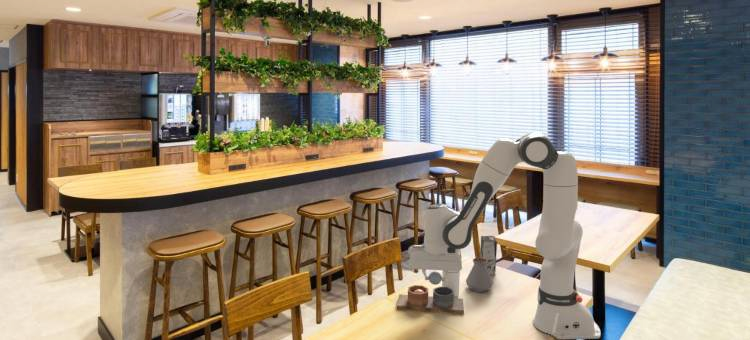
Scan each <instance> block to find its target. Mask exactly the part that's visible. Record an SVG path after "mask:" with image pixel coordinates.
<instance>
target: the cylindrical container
mask: <svg viewBox="0 0 750 340" xmlns="http://www.w3.org/2000/svg"><path fill="white" fill-rule="evenodd" d="M459 252H460V253H461V249H459ZM441 271H442V274H441V276H442V275H444V274H445V270H441ZM460 271H461V270H460ZM460 271H448V274H447V276H446V277H445V281H442V280H441V287H448V288H450V289H452V290H454V298H458V297H459V295H460V275H461V274H460V273H461V272H460Z"/></svg>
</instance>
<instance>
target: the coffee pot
mask: <svg viewBox="0 0 750 340" xmlns="http://www.w3.org/2000/svg"><path fill="white" fill-rule="evenodd" d="M511 256H512V257H515V254H514V253H513V252H512V253H509V254H507V255H505V256H501V257H500V258H498V259H496V261H495V262H492V263H490V264H488V265H486V264H487V263H488V260H487V259H484V258H480V257H475V258H473V259H472V262H473V266H472V268H471V270H470V271H469V273H468V276H467V278H466V279H465V283H466V285H467V287H468V288H469V289H470V290H471V291H474V292H476V293H484V292H488V291H489V290H490V289H491V288H492V287H493V285H494V282H493V278H492V277H491V275H490V274H489V271H488V269H487V267H489V266H491V265H493V264H495V263H496V264H497V263H499V262H501V261H504V260H505V259H507V258H510V257H511Z"/></svg>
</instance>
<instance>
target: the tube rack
mask: <svg viewBox="0 0 750 340" xmlns="http://www.w3.org/2000/svg"><path fill="white" fill-rule="evenodd" d="M417 289H421V290H423V291H424V293H413V292H414V291H415V290H417ZM396 310H402V311H403V310H407V311H418V312H431V313H444V314H445V313H446V314H447V313H448V314H457V315H458V314H459V315H460V314H461V315H464V314H465V307H464V298H458V297H454V290H452V289H450V288H448V287H442V286H438V287H434V288H433V289H432V296H430V295H429V288H428V287H427V286H425V285H421V284H420V285H418V284H414V285H411V286H408V287H407V294H399V295H398V299H397V303H396Z"/></svg>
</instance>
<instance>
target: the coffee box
mask: <svg viewBox="0 0 750 340" xmlns="http://www.w3.org/2000/svg"><path fill="white" fill-rule="evenodd" d="M497 250H498V241H497V239H496V238H495V236H494V235H481V236H480V250H479V252H480V253H479V254H480V255H479V258H484V259H487V260H488V263H487V264H486V265H488V264H490V263H492V262H495V261H496V260H497V252H498V251H497ZM487 269H488V271H489V274H490V276H491V275H492V276H495V275H496V272H497V271H496V269H497V263H495V264H493V265H491V266H489V267H487Z"/></svg>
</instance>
